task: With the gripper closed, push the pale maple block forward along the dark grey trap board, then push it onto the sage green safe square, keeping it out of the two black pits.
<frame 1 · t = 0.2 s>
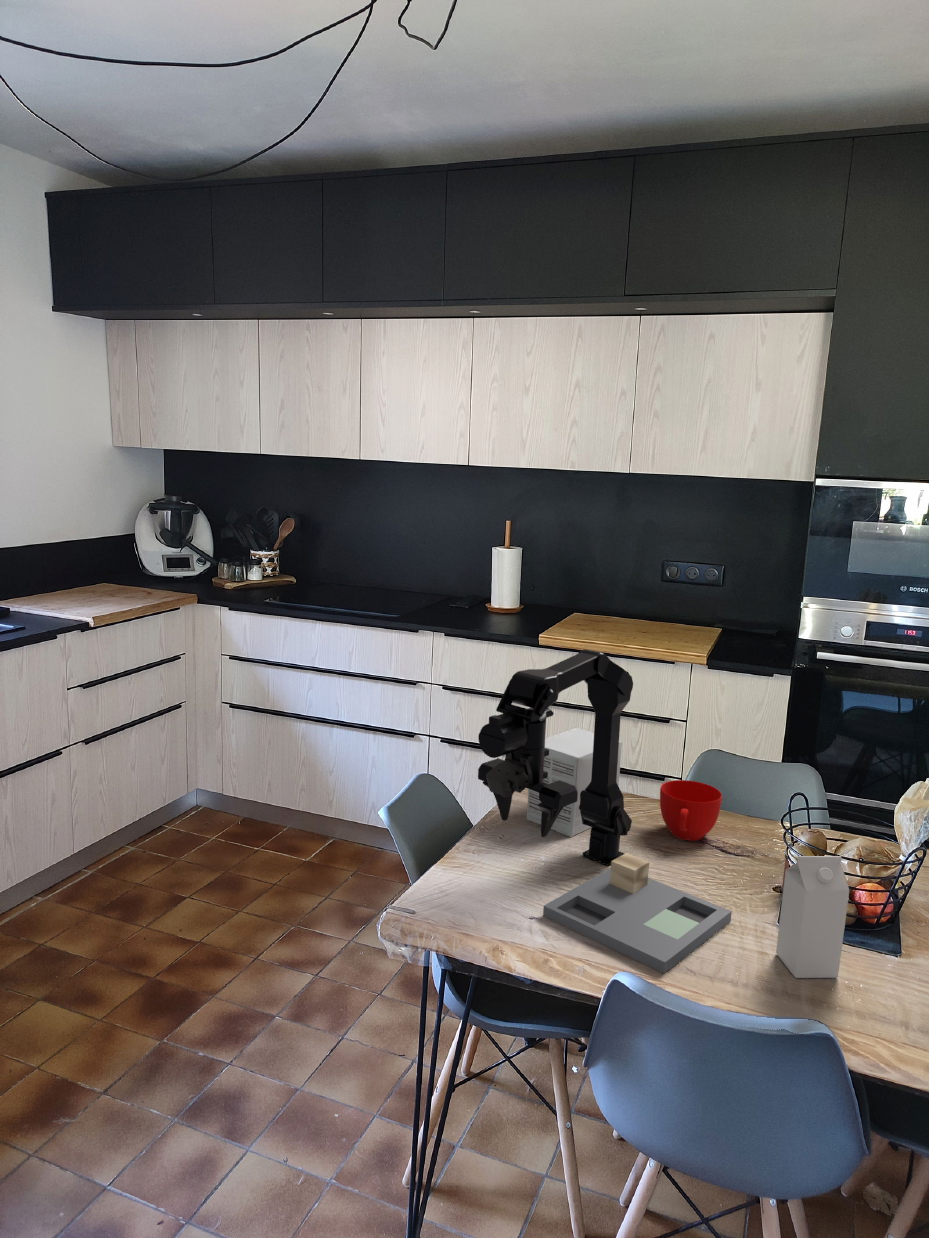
hand: (523, 828, 155), 14 cm above the table, tool pointing down, fingers open, 9 cm apart
trap board: (637, 918, 153), on the table
milk carton: (805, 967, 141), on the table
maple block: (628, 884, 162), point 2 cm above the table, touching trap board
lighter: (803, 894, 165), on the table
ceramic cup: (685, 838, 188), on the table
supplement box: (571, 818, 196), on the table
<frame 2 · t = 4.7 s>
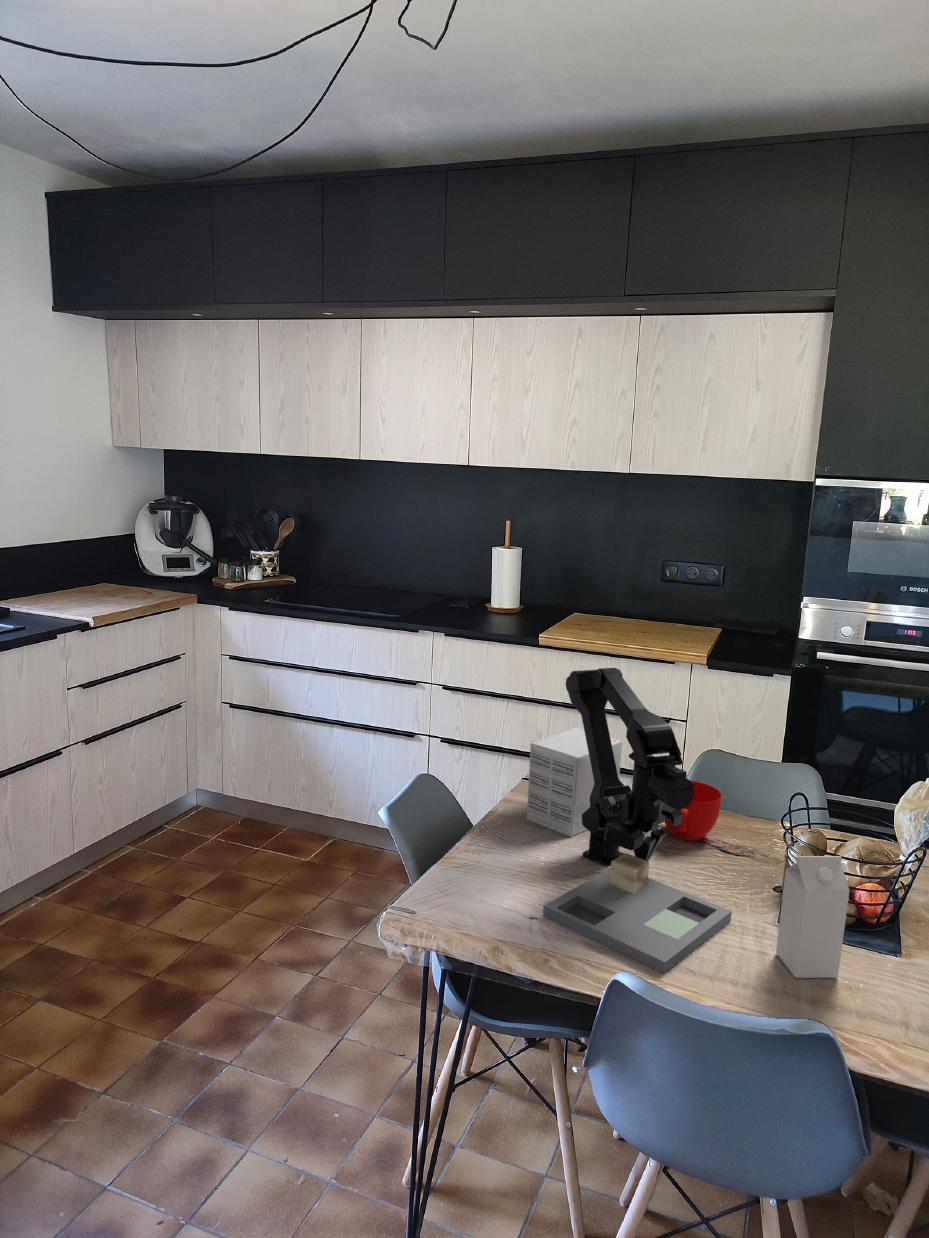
hand: (641, 867, 164), 4 cm above the table, tool pointing down, fingers closed
maple block: (628, 884, 162), point 2 cm above the table, touching gripper, trap board
everything else where it was.
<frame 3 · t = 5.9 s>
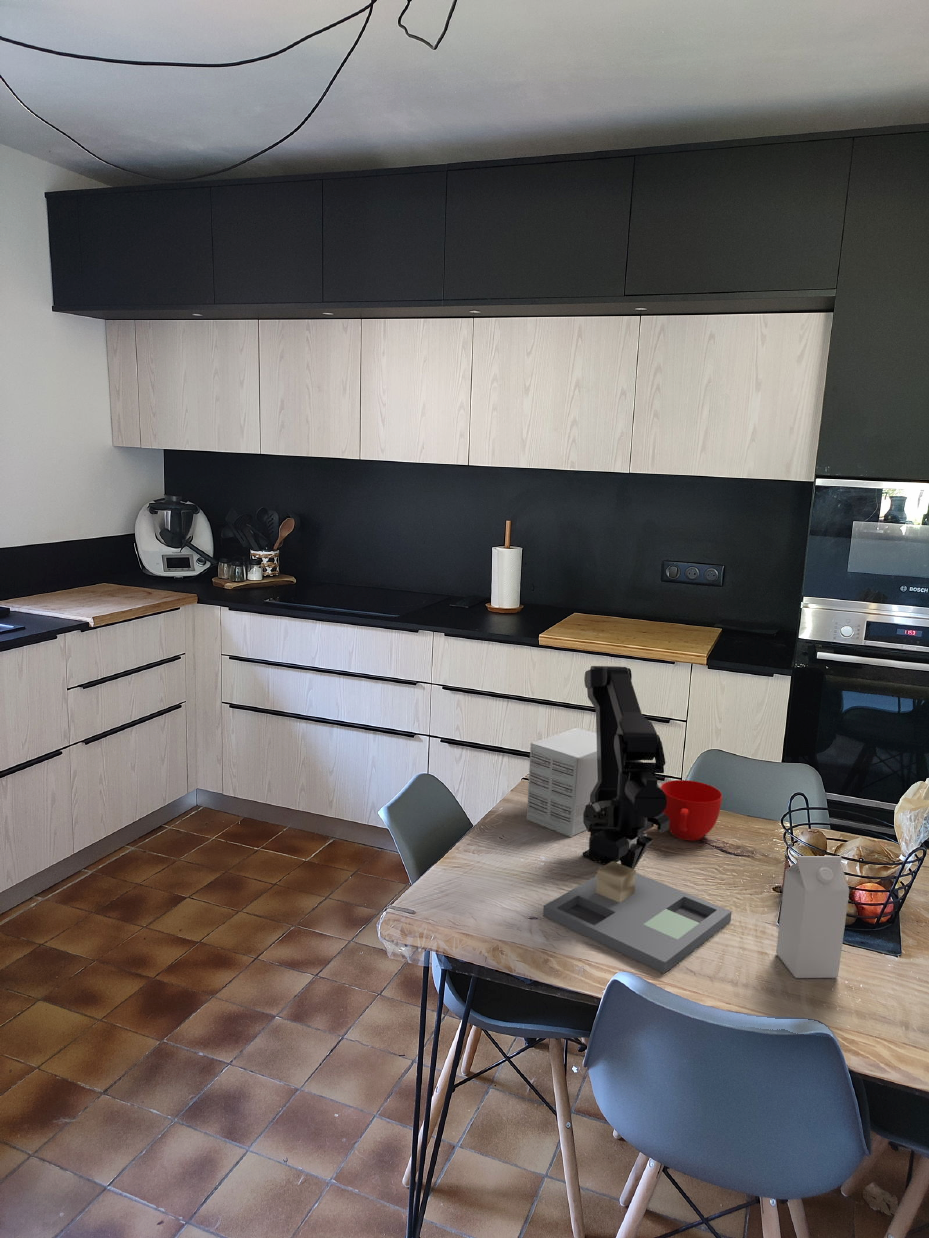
hand: (627, 874, 161), 4 cm above the table, tool pointing down, fingers closed
maple block: (615, 892, 158), point 2 cm above the table, touching gripper, trap board
everything else where it was.
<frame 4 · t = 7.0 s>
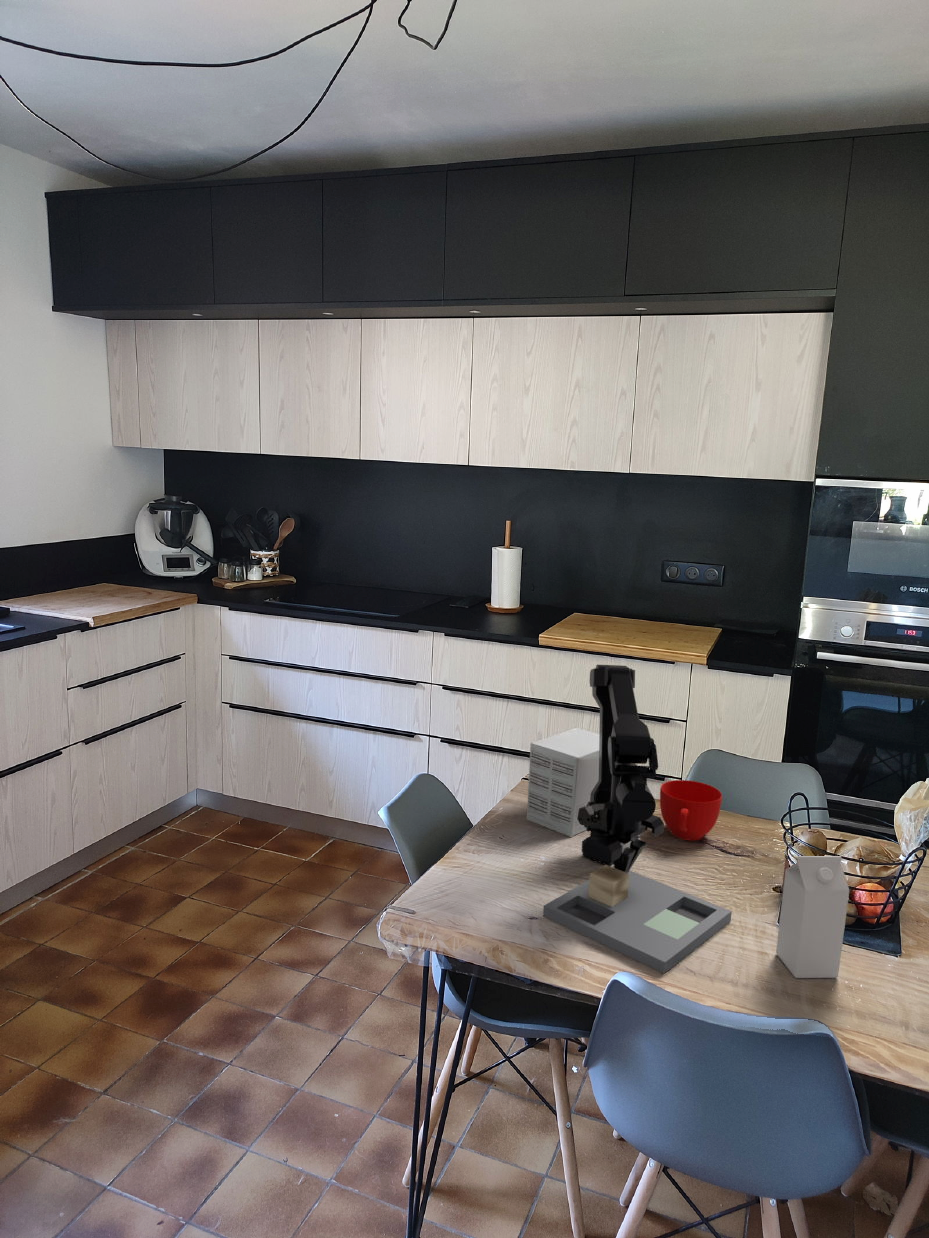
hand: (620, 878, 159), 4 cm above the table, tool pointing down, fingers closed
maple block: (608, 896, 157), point 2 cm above the table, touching gripper, trap board
everything else where it was.
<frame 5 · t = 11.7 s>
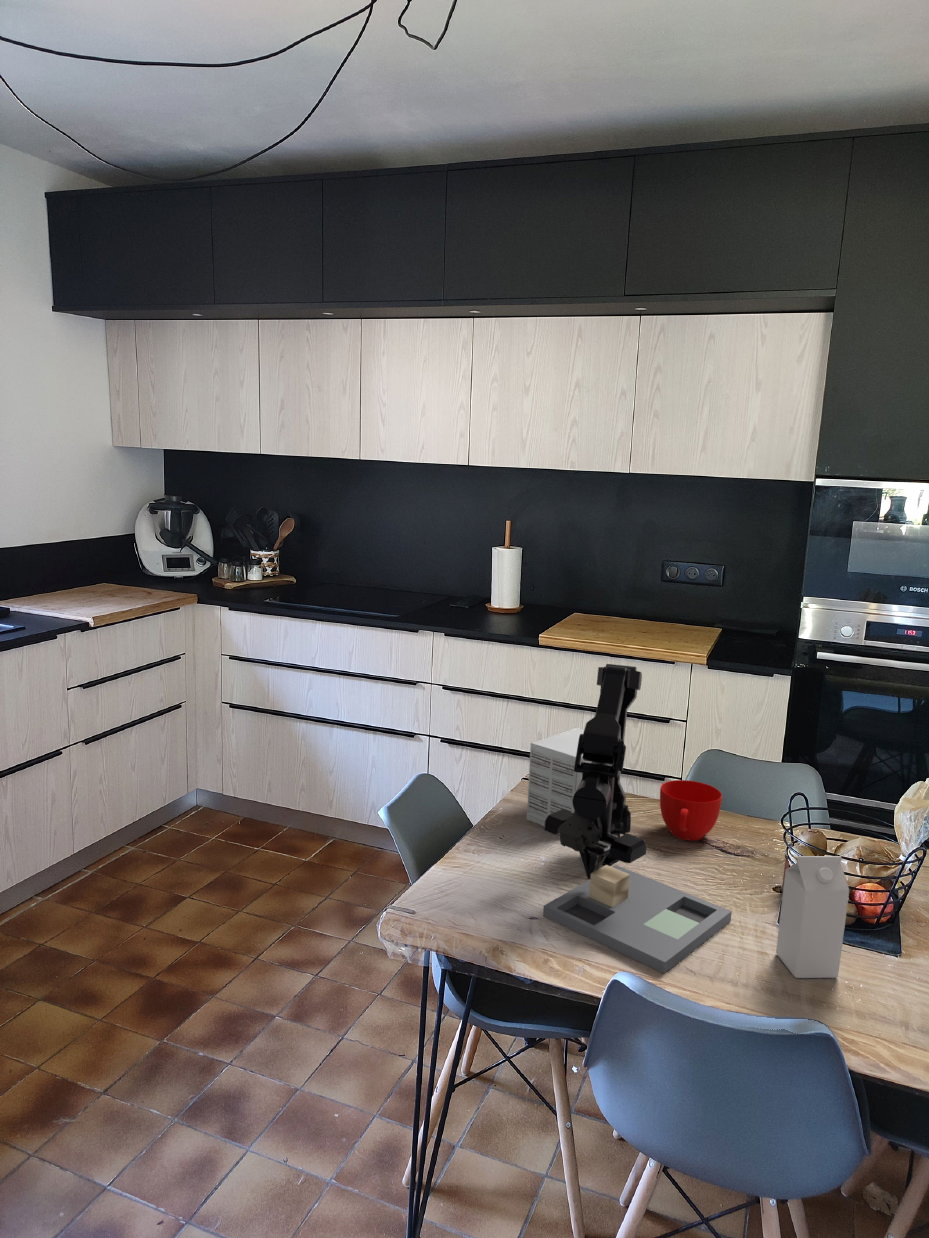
hand: (590, 878, 159), 4 cm above the table, tool pointing down, fingers closed
nothing on the table moved.
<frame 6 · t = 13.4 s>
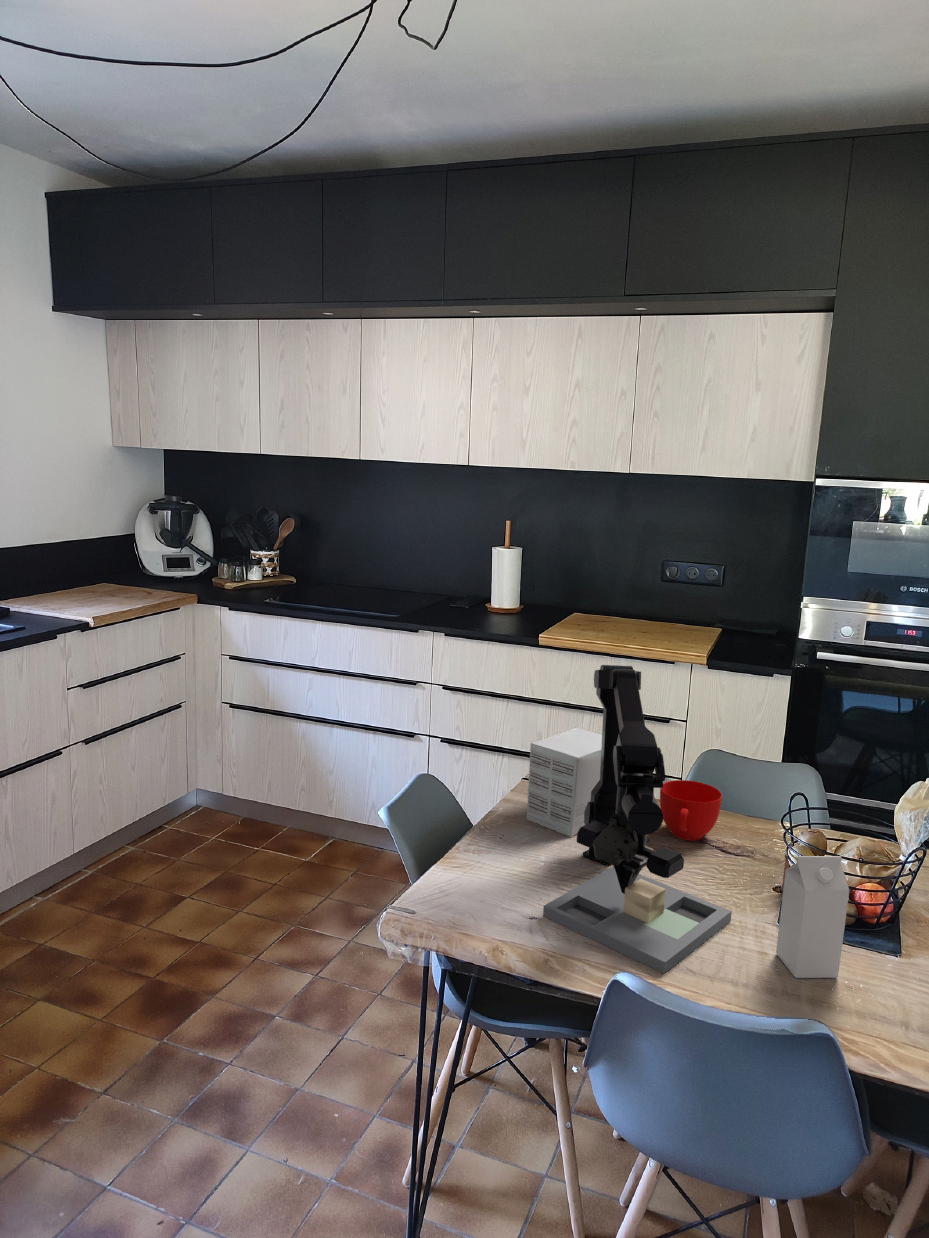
hand: (624, 892, 154), 4 cm above the table, tool pointing down, fingers closed
maple block: (643, 912, 152), point 2 cm above the table, touching gripper, trap board
everything else where it was.
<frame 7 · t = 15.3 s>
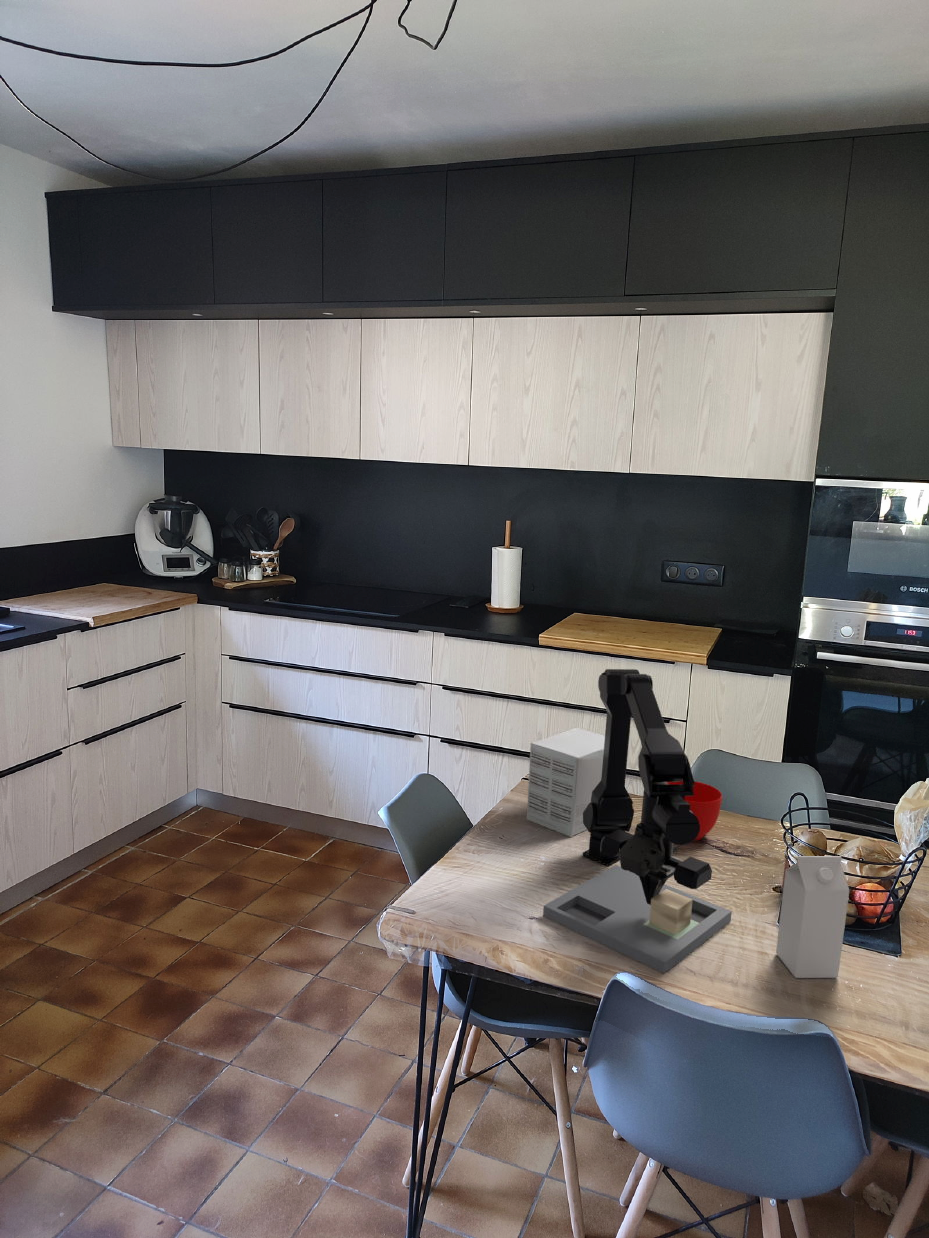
hand: (650, 903, 151), 4 cm above the table, tool pointing down, fingers closed
maple block: (669, 923, 149), point 2 cm above the table, touching gripper
everything else where it was.
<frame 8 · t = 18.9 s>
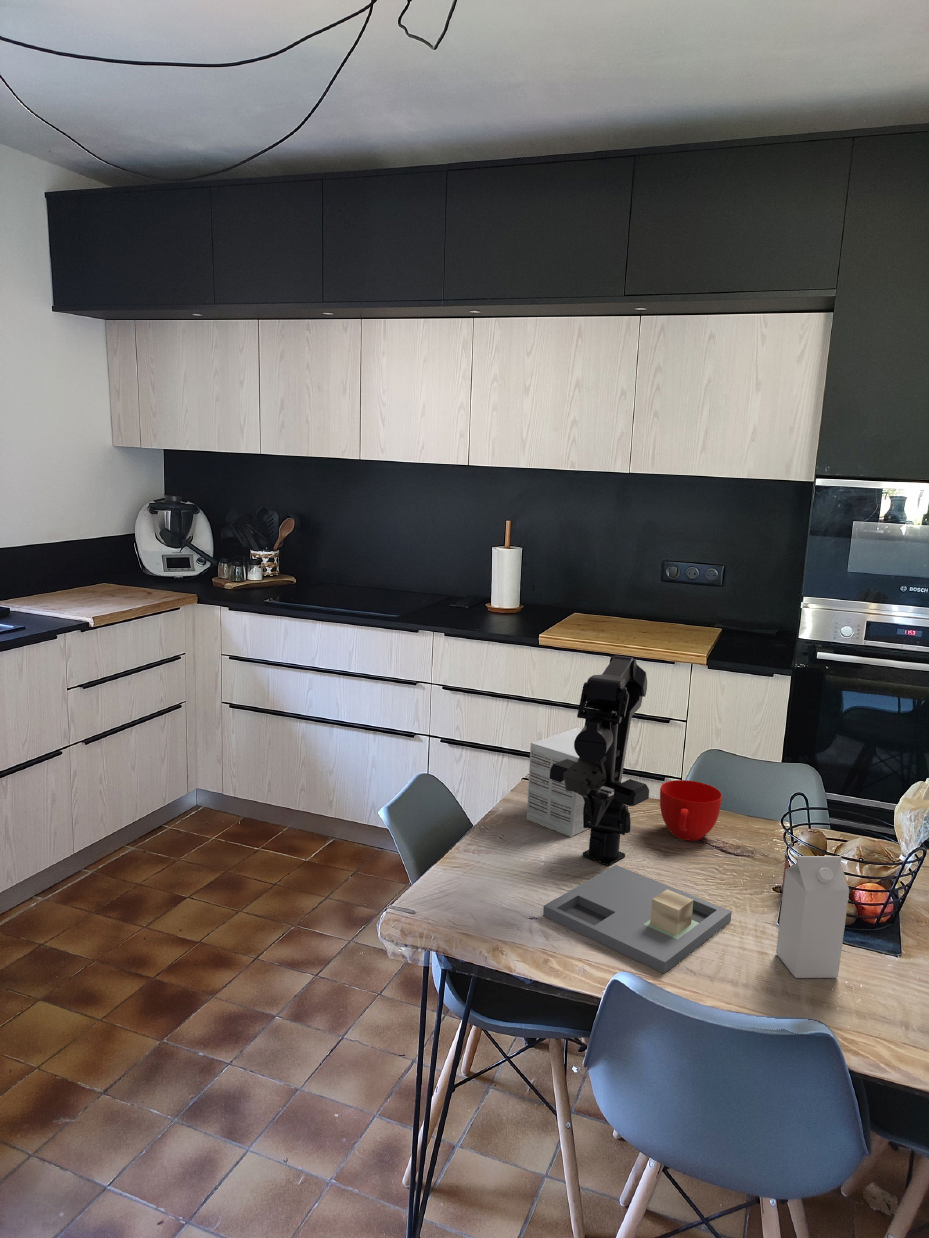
hand: (594, 824, 163), 12 cm above the table, tool pointing down, fingers closed
maple block: (670, 923, 148), point 2 cm above the table, touching trap board
everything else where it was.
at the end: maple block inside the target area (0.1 cm from its centre), point 2.0 cm above the table; maple block tilted 0°; the gripper is holding nothing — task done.
